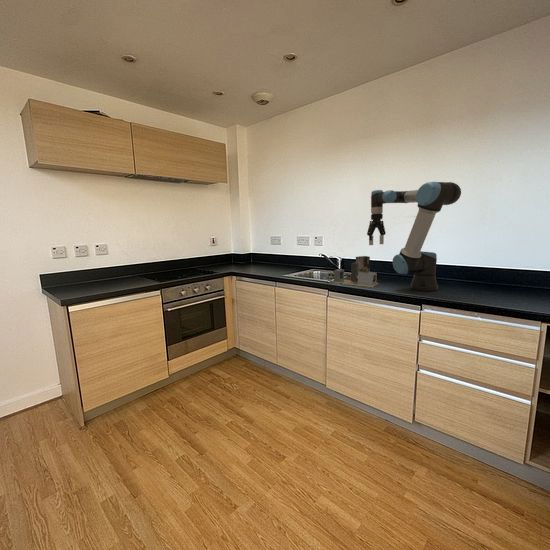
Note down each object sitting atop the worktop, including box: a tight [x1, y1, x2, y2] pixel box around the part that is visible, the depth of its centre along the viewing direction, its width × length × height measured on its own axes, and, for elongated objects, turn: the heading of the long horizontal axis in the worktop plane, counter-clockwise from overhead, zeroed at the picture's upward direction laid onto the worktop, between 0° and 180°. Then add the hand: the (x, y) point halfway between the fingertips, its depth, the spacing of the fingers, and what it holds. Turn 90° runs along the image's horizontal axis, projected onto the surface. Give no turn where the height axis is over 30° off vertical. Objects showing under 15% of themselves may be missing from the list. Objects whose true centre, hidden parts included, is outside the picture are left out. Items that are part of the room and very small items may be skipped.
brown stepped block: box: [346, 262, 374, 282], centre depth 195 cm, size 18×4×13 cm, turn 50°
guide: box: [331, 271, 380, 288], centre depth 199 cm, size 30×10×8 cm, turn 50°
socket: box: [333, 268, 345, 282], centre depth 206 cm, size 4×8×8 cm, turn 140°
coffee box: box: [355, 255, 371, 273], centre depth 222 cm, size 9×6×16 cm
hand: (376, 244), depth 199 cm, fingers open, 13 cm apart
